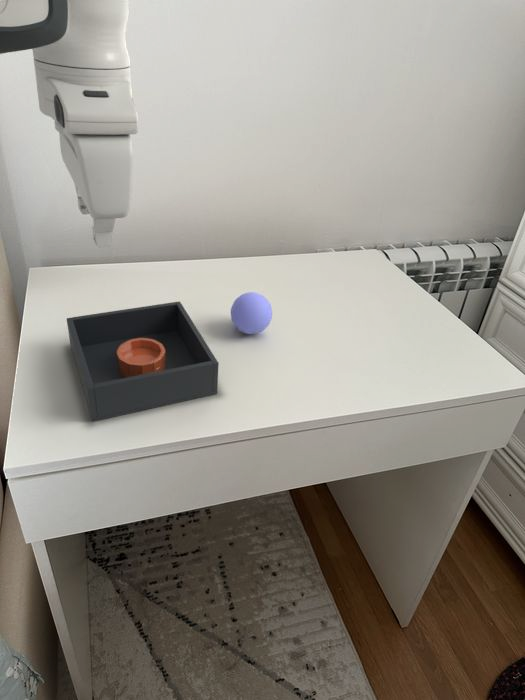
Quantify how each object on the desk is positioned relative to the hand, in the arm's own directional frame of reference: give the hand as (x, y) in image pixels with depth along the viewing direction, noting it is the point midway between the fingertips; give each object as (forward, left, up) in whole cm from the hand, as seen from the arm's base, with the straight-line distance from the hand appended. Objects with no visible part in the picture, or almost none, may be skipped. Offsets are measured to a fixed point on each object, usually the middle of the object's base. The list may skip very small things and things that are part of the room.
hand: (94, 227), depth 60 cm
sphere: (+25, +9, -25) cm, 37 cm away
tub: (+5, +4, -25) cm, 26 cm away
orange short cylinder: (+5, +4, -24) cm, 25 cm away
